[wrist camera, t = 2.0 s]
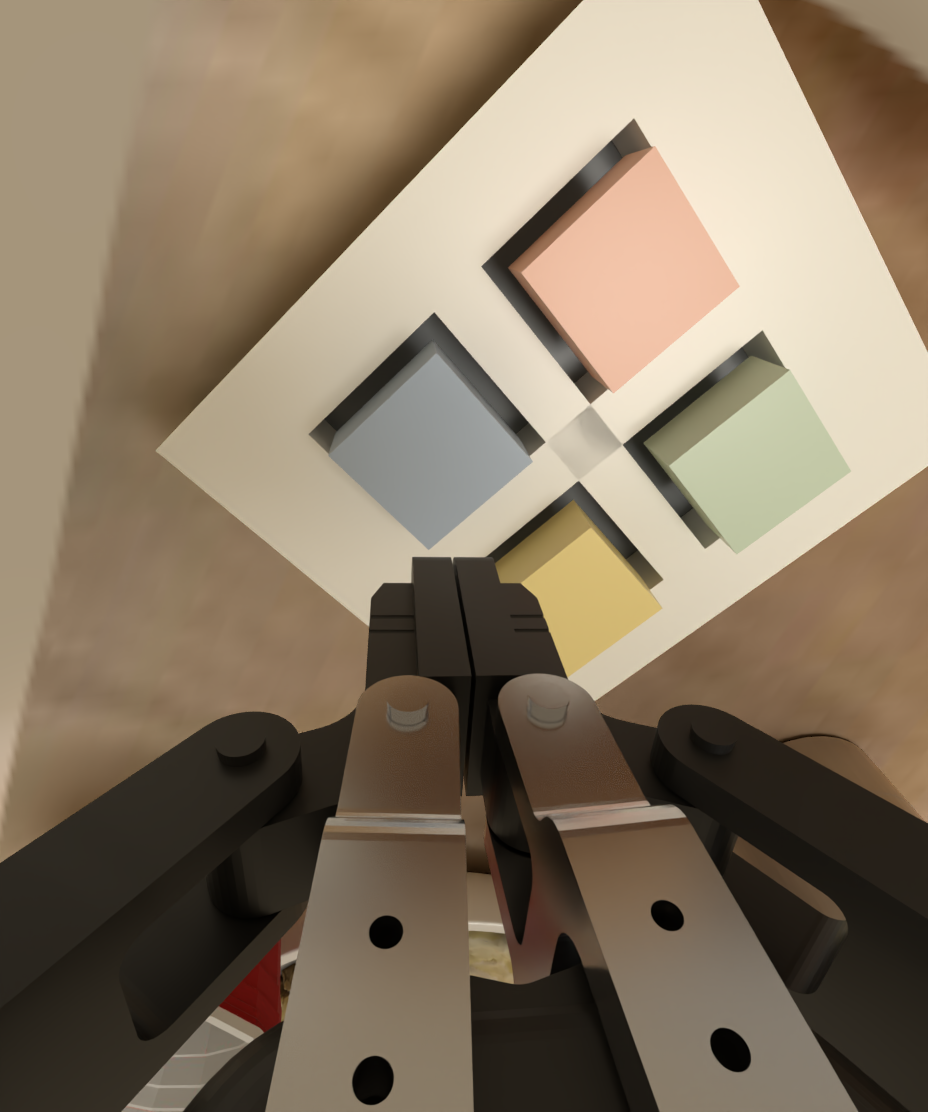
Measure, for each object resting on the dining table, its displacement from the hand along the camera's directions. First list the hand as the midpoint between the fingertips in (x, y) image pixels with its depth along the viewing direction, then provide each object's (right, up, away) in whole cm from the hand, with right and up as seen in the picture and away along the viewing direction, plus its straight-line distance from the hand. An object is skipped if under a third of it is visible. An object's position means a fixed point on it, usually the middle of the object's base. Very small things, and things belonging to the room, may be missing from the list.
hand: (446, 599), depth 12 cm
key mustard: (+4, 0, +12) cm, 13 cm away
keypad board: (+4, +7, +13) cm, 16 cm away
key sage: (+10, +5, +11) cm, 15 cm away
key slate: (-1, +5, +9) cm, 11 cm away
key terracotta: (+5, +10, +8) cm, 13 cm away
